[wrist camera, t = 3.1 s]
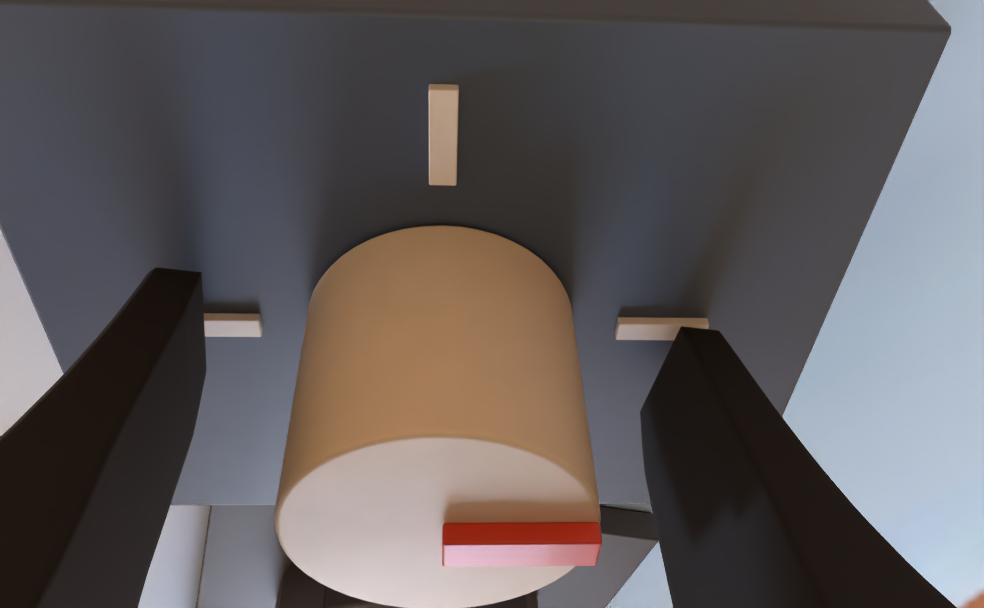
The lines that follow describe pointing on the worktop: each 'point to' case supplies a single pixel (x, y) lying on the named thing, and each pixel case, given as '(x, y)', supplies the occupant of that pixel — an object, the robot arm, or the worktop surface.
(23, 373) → the worktop surface
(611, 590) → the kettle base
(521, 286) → the knob
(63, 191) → the control panel
